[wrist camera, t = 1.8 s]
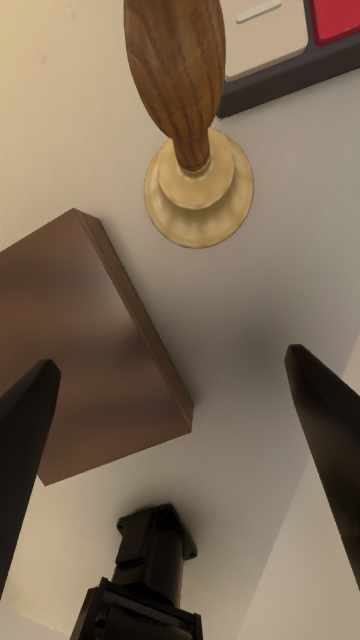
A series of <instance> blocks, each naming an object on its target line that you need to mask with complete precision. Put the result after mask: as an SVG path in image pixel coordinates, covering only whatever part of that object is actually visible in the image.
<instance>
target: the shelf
mask: <svg viewBox="0 0 360 640" xmlns="http://www.w3.org/2000/svg"><path fill="white" fill-rule="evenodd" d="M42 359H52V360H53V361H54V362H55V364H56V365H57V367H58V368H59V369H60V371H61V381H60V386H59V392H58V398H57V403H56V409H55V413H54V417H53V421H52V424H51V428H50V431H49V434H48V438H47V441H46V445H45V448H44V452H43V455H42V458H41V462H40V465H39V469H38V472H37V475H38V476H39V478H40V480H41V481H42V483H43V484H44V486H48V485H50V484H53V483H56V482H58V481H61V480H64V479H67V478H69V477H72V476H75V475H77V474H80V473H83V472H85V471H88V470H91V469H93V468H96V467H99V466H102V465H104V464H107V463H110V462H112V461H115V460H118V459H120V458H123V457H126V456H128V455H131V454H134V453H136V452H139V451H142V450H145V449H147V448H150V447H153V446H155V445H158V444H161V443H163V442H166V441H169V440H171V439H174V438H177V437H180V436H182V435H185V434H188V433H190V432H191V430H192V419H193V408H194V404H193V402H192V400H191V398H190V396H189V394H188V392H187V390H186V388H185V386H184V384H183V382H182V380H181V378H180V377H179V375H178V373H177V371H176V369H175V367H174V365H173V363H172V361H171V359H170V357H169V355H168V353H167V351H166V349H165V347H164V345H163V343H162V342H161V340H160V338H159V336H158V334H157V332H156V330H155V328H154V326H153V324H152V322H151V320H150V318H149V316H148V314H147V312H146V310H145V308H144V307H143V305H142V303H141V301H140V299H139V297H138V295H137V293H136V291H135V289H134V287H133V285H132V283H131V281H130V279H129V277H128V275H127V273H126V272H125V270H124V268H123V266H122V264H121V262H120V260H119V258H118V256H117V254H116V252H115V250H114V248H113V246H112V244H111V242H110V240H109V238H108V237H107V235H106V233H105V231H104V229H103V227H102V225H101V223H100V221H99V219H97V218H95V217H93V216H91V215H88V214H86V213H84V212H82V211H80V210H77V209H75V208H72V209H71V210H69V211H67V212H66V213H64V214H62V215H61V216H59V217H57V218H56V219H54V220H52V221H51V222H49V223H47V224H46V225H44V226H43V227H41V228H39V229H38V230H36V231H34V232H33V233H31V234H29V235H28V236H26V237H24V238H23V239H21V240H19V241H18V242H16V243H14V244H13V245H11V246H10V247H8V248H6V249H5V250H3V251H1V252H0V396H1V395H2V394H3V393H4V392H5V391H7V390H8V389H9V388H10V387H11V386H12V385H13V384H14V383H15V382H16V381H17V380H19V379H20V378H21V377H22V376H23V375H24V374H25V373H26V372H27V371H28V370H29V369H30V368H32V367H33V366H34V365H35V364H36V363H37V362H38V361H39V360H42Z"/></svg>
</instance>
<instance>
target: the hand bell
mask: <svg viewBox="0 0 360 640" xmlns="http://www.w3.org/2000/svg"><path fill="white" fill-rule="evenodd" d="M124 31H125V41H126V50H127V57H128V62H129V66H130V70H131V73H132V77H133V80H134V83H135V85H136V88H137V90H138V93H139V95H140V98H141V100H142V102H143V104H144V106H145V108H146V110H147V112H148V114H149V115H150V117H151V118H152V120H153V121H154V123H155V124H156V125H157V127H158V128H159V129H160V130H161V131H162V132H163V133H164V134H165V135H166V136H168V137H169V138H168V139H167V140H166V142H165V143H164V145H163V146H162V147H161V149H160V150H159V151H158V152H157V154H156V155H155V156H154V158H153V160H152V161H151V164H150V166H149V168H148V171H147V175H146V179H145V187H144V196H145V203H146V208H147V211H148V214H149V216H150V218H151V220H152V222H153V224H154V225H155V227H156V228H157V229H158V231H159V232H160V233H161V234H162V235H164V236H165V237H166V238H167V239H169V240H170V241H172V242H174V243H176V244H178V245H181V246H183V247H189V248H205V247H210V246H213V245H216V244H218V243H220V242H222V241H224V240H226V239H227V238H228V237H230V236H231V235H232V234H233V233H235V231H236V230H237V229H238V228H239V227H240V226H241V224H242V223H243V222H244V220H245V218H246V216H247V214H248V212H249V210H250V207H251V203H252V200H253V192H254V181H253V174H252V170H251V167H250V164H249V161H248V159H247V157H246V156H245V154H244V152H243V151H242V150H241V148H240V147H239V146H238V145H237V144H236V143H235V142H234V141H232V140H231V139H230V138H228V137H227V136H225V135H223V134H222V133H221V132H220V131H218V130H217V129H215V128H213V127H212V126H210V125H211V124H212V122H213V119H214V117H215V115H216V113H217V110H218V107H219V103H220V99H221V96H222V90H223V85H224V78H225V65H226V36H225V24H224V19H223V13H222V8H221V4H220V0H124Z"/></svg>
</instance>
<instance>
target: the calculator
mask: <svg viewBox="0 0 360 640" xmlns="http://www.w3.org/2000/svg"><path fill="white" fill-rule="evenodd" d="M220 4H221V8H222V13H223V19H224V24H225V36H226V65H225V78H224V85H223V90H222V96H221V99H220V103H219V107H218V110H217V113H216V115H217V116H218V117H220V118H223V117H226V116H229V115H232V114H234V113H237V112H240V111H242V110H245V109H248V108H250V107H253V106H256V105H258V104H261V103H264V102H266V101H269V100H272V99H274V98H277V97H280V96H282V95H285V94H288V93H290V92H293V91H296V90H299V89H301V88H304V87H307V86H309V85H312V84H315V83H317V82H320V81H323V80H325V79H328V78H331V77H333V76H336V75H339V74H341V73H344V72H347V71H349V70H352V69H355V68H357V67H360V0H220Z"/></svg>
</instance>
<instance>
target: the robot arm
mask: <svg viewBox="0 0 360 640" xmlns="http://www.w3.org/2000/svg"><path fill="white" fill-rule="evenodd" d="M284 362H285V368H286V372H287V376H288V381H289V385H290V390H291V394H292V398H293V402H294V405H295V408H296V411H297V414H298V417H299V420H300V423H301V426H302V428H303V431H304V434H305V437H306V440H307V443H308V445H309V448H310V451H311V454H312V457H313V460H314V462H315V465H316V468H317V471H318V473H319V477H320V479H321V482H322V485H323V488H324V491H325V493H326V496H327V499H328V502H329V505H330V508H331V511H332V513H333V516H334V519H335V522H336V525H337V528H338V530H339V533H340V535H341V539H342V542H343V545H344V548H345V551H346V554H347V556H348V559H349V562H350V565H351V568H352V570H353V573H354V576H355V579H356V582H357V585H358V587H359V590H360V396H359V395H358V394H357V393H356V392H355V391H354V390H352V389H351V388H350V387H349V386H348V385H347V384H346V383H344V382H343V381H342V380H341V379H340V378H339V377H338V376H337V375H336V374H334V373H333V372H332V371H331V370H330V369H329V368H328V367H327V366H325V365H324V364H323V363H322V362H321V361H320V360H319V359H318V358H316V357H315V356H314V355H313V354H312V353H311V352H310V351H309V350H307V349H306V348H305V347H304V346H303V345H301V344H291V345H289V346H288V349H287V352H286V355H285V359H284ZM60 381H61V371H60V369H59V368H58V367H57V365H56V364H55V362H54V361H53V360H52V359H42V360H39V361H38V362H37V363H36V364H35V365H34V366H33V367H32V368H30V369H29V370H28V371H27V372H26V373H25V374H24V375H23V376H22V377H21V378H20V379H19V380H17V381H16V382H15V383H14V384H13V385H12V386H11V387H10V388H9V389H8V390H7V391H5V392H4V393H3V394H2V395H1V396H0V600H1V596H2V593H3V589H4V586H5V582H6V579H7V576H8V572H9V569H10V565H11V562H12V558H13V555H14V552H15V548H16V545H17V540H18V537H19V534H20V530H21V527H22V524H23V520H24V517H25V513H26V510H27V506H28V503H29V500H30V496H31V493H32V489H33V486H34V482H35V479H36V476H37V472H38V469H39V465H40V462H41V458H42V455H43V452H44V448H45V445H46V441H47V438H48V434H49V431H50V428H51V424H52V421H53V417H54V413H55V409H56V403H57V398H58V392H59V386H60ZM116 527H117V529H118V531H119V532H120V534H121V536H122V537H123V538H122V541H121V544H120V547H119V551H118V554H117V557H116V560H115V564H116V567H115V571H114V574H113V577H112V580H111V582H110V581H108V579H107V578H104V577H102V578H101V581H100V584H99V587H97V586H96V587H95V588H91V589H88V592H87V594H86V597H85V600H84V603H83V605H82V608H81V611H80V613H79V616H78V619H77V621H76V624H75V627H74V629H73V632H72V635H71V637H70V640H203V632H202V622H201V615H199V614H197V613H194V614H192V613H190V612H187V611H185V610H182V609H180V599H181V586H182V574H183V561H185V560H189V559H193V558H195V557H197V548H196V546H195V545H194V543H193V541H192V539H191V538H190V536H189V534H188V532H187V530H186V529H185V527H184V525H183V523H182V522H181V520H180V518H179V516H178V515H177V513H176V511H175V509H174V507H173V506H172V505H170V504H167V505H164V506H160V507H157V508H154V509H151V510H148V511H145V512H142V513H139V514H135V515H132V516H129V517H126V518H123V519H120V520H119V521H118V523H117V526H116Z"/></svg>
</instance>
